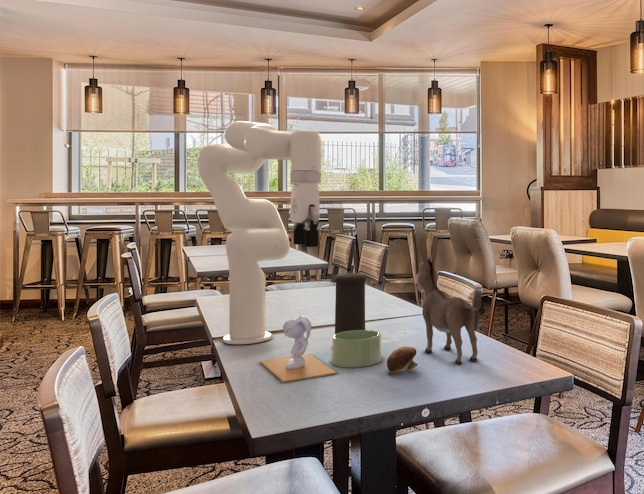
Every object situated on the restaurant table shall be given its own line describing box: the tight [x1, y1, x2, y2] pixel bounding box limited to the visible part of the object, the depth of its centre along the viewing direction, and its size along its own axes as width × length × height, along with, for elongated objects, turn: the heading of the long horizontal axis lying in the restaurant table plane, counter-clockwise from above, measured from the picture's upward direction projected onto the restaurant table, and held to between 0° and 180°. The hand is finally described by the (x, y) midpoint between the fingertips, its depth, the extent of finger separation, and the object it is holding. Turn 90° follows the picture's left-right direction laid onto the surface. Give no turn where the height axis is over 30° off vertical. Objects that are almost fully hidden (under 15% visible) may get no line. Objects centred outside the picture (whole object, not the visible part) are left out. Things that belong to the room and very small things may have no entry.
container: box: [333, 272, 367, 334], centre depth 169 cm, size 9×9×20 cm
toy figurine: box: [282, 315, 312, 369], centre depth 148 cm, size 7×6×12 cm
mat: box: [260, 353, 337, 384], centre depth 148 cm, size 20×12×1 cm, turn 34°
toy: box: [414, 235, 486, 365], centre depth 160 cm, size 8×34×30 cm, turn 36°
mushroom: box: [386, 346, 419, 374], centre depth 144 cm, size 8×8×6 cm
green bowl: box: [332, 329, 382, 368], centre depth 154 cm, size 12×12×6 cm
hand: (305, 245), depth 159 cm, fingers open, 9 cm apart
